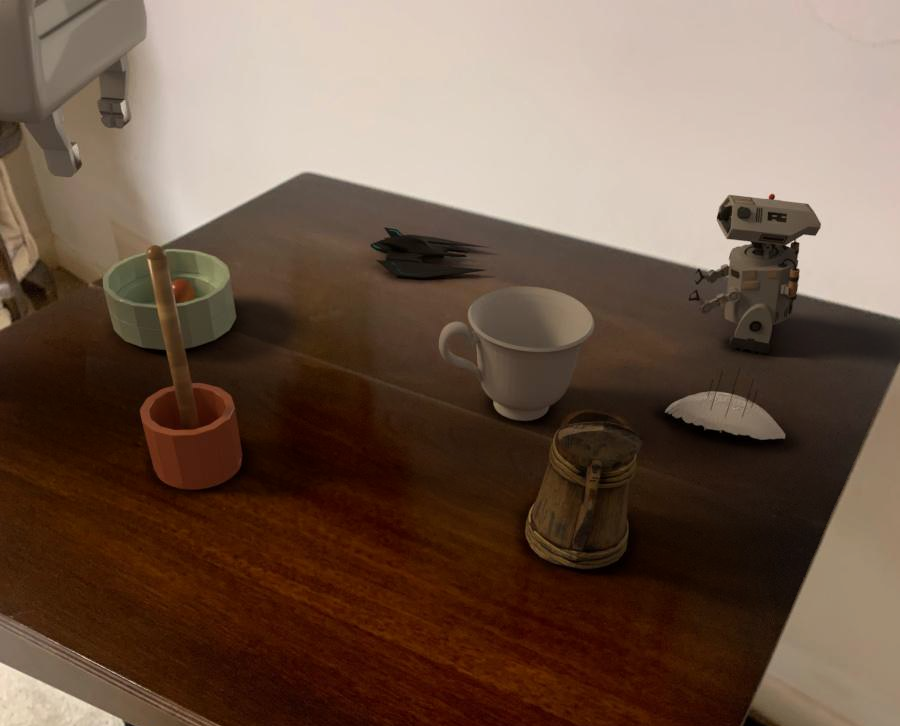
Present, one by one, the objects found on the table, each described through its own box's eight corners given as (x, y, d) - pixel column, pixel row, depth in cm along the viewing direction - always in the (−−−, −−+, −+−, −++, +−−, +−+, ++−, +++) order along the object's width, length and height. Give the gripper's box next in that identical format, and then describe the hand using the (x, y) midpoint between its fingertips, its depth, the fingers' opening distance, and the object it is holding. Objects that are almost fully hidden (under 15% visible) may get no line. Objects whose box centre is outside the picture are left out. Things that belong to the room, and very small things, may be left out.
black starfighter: (377, 235, 117) (377, 213, 115) (490, 245, 116) (492, 223, 114) (363, 274, 109) (362, 251, 107) (484, 285, 108) (485, 262, 106)
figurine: (685, 304, 107) (717, 176, 97) (781, 320, 106) (825, 192, 95) (677, 341, 101) (711, 209, 90) (780, 359, 99) (826, 226, 89)
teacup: (424, 381, 93) (426, 292, 86) (557, 368, 96) (570, 281, 89) (450, 449, 85) (455, 357, 78) (595, 433, 88) (613, 343, 81)
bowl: (96, 348, 95) (83, 300, 91) (139, 290, 104) (129, 244, 100) (216, 360, 94) (208, 312, 90) (249, 300, 104) (243, 254, 100)
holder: (141, 485, 80) (126, 430, 75) (170, 432, 85) (158, 378, 81) (228, 494, 79) (218, 440, 75) (252, 440, 85) (244, 386, 81)
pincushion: (786, 425, 90) (804, 377, 86) (780, 459, 86) (798, 410, 82) (670, 398, 93) (682, 350, 89) (659, 429, 89) (671, 381, 85)
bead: (166, 310, 100) (161, 285, 98) (175, 297, 102) (170, 273, 100) (192, 313, 100) (187, 288, 98) (200, 300, 102) (196, 275, 100)
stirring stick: (187, 461, 81) (141, 249, 67) (192, 451, 82) (148, 240, 68) (203, 463, 81) (160, 251, 67) (207, 453, 82) (167, 242, 68)
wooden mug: (511, 600, 72) (536, 414, 59) (531, 495, 81) (556, 314, 68) (620, 618, 71) (671, 433, 58) (628, 510, 80) (673, 330, 67)
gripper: (57, -124, 61) (105, 97, 71) (-104, -65, 47) (-15, 200, 57) (146, -117, 61) (182, 103, 71) (12, -57, 47) (80, 208, 57)
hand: (93, 147), depth 64 cm, fingers open, 8 cm apart
